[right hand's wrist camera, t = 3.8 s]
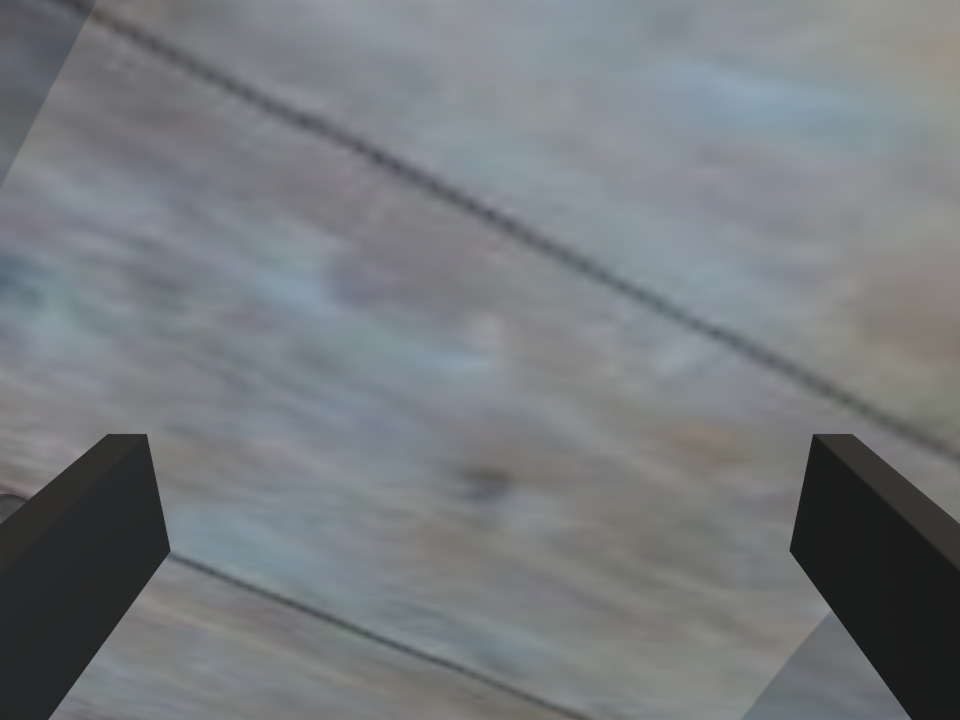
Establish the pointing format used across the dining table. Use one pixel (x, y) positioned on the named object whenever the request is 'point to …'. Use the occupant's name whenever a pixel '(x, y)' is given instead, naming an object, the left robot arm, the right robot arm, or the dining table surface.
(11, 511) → the bottle
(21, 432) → the dining table surface
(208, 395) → the dining table surface
